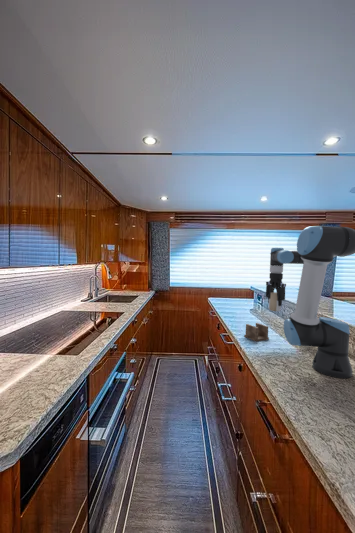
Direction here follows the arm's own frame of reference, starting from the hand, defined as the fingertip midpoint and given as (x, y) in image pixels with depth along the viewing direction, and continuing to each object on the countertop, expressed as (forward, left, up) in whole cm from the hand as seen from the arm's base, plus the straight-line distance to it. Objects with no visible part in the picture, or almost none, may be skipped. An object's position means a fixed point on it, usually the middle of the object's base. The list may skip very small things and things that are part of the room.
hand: (274, 309), depth 144 cm
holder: (+8, +6, -19) cm, 22 cm away
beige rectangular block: (0, 0, 0) cm, 0 cm away
